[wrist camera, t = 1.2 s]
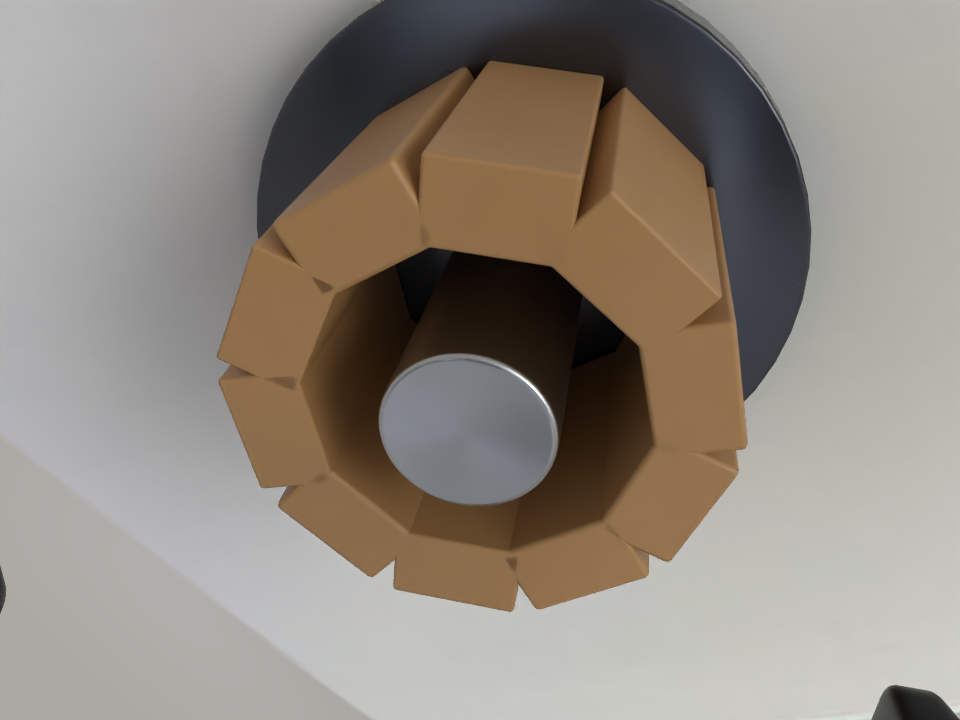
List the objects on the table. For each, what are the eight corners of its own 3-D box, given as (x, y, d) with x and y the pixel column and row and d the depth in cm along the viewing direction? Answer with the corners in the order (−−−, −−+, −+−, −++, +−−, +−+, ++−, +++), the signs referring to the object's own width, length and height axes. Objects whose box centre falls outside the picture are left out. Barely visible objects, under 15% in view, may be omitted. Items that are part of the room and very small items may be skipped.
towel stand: (537, 532, 21) (494, 785, 15) (182, 240, 19) (-20, 413, 13) (924, 246, 16) (1064, 463, 11) (511, -190, 14) (414, -203, 8)
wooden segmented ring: (532, 487, 19) (496, 676, 15) (257, 257, 17) (127, 396, 13) (810, 270, 16) (867, 435, 11) (502, -37, 14) (437, 22, 10)
